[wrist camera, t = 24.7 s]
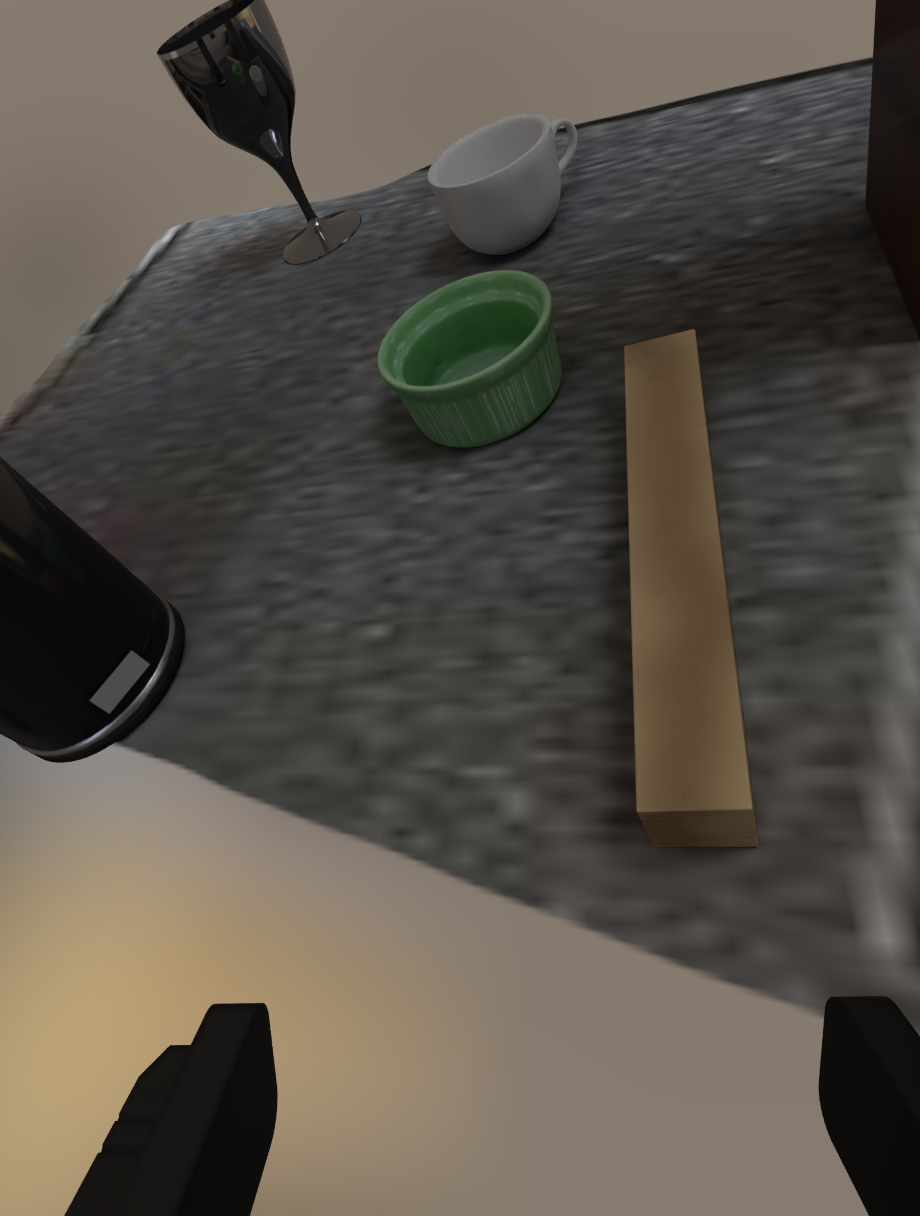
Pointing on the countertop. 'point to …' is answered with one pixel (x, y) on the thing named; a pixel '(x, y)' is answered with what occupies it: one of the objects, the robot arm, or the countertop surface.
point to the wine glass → (250, 103)
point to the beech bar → (681, 612)
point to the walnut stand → (897, 144)
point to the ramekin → (475, 358)
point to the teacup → (502, 182)
